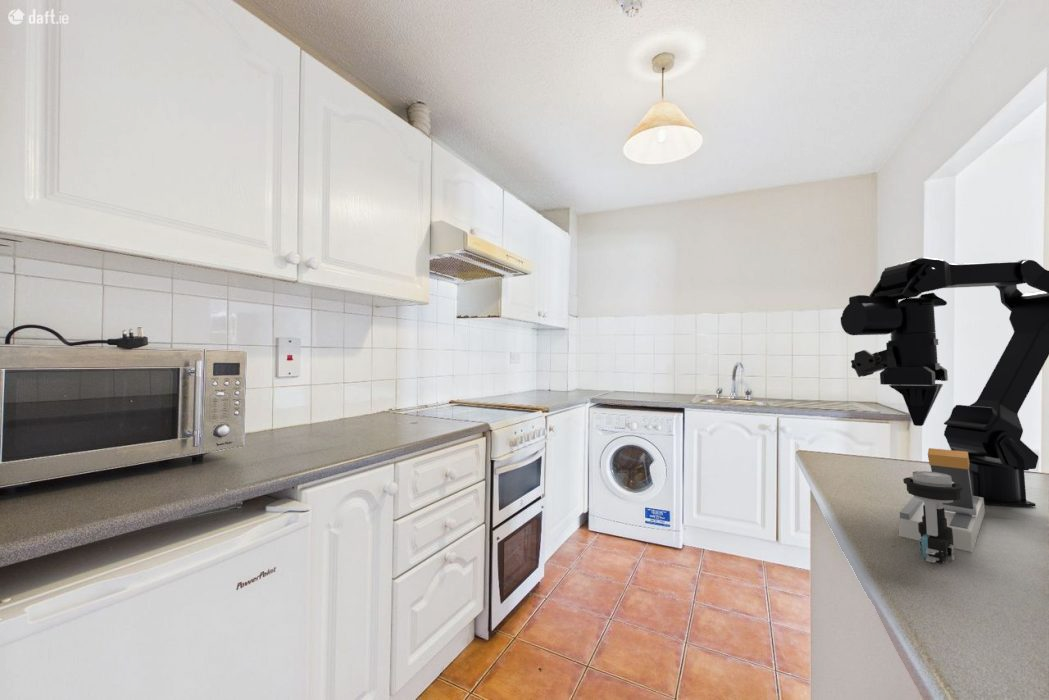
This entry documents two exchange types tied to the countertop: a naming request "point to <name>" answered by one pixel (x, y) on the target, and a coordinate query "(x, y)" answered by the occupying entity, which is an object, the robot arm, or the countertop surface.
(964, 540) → the panel
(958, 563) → the countertop surface
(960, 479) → the lever
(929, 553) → the push button
